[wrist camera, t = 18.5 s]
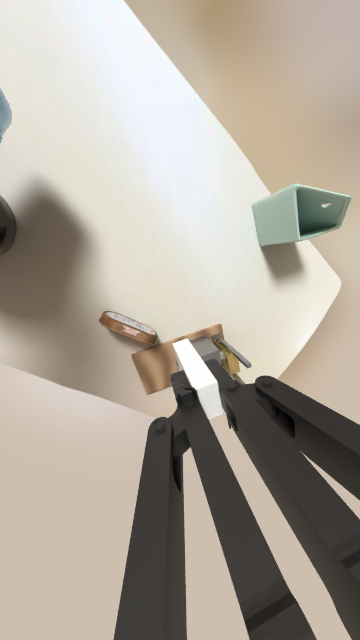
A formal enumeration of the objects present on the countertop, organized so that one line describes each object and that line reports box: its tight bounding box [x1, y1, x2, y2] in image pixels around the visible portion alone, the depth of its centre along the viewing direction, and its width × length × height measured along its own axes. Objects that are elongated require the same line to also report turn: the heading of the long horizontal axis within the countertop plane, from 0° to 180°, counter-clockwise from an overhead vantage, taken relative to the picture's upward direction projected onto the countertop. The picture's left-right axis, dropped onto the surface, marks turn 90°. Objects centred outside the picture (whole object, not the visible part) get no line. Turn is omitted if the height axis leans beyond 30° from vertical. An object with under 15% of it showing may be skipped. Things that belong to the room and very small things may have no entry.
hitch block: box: [189, 333, 251, 384], centre depth 49 cm, size 15×12×18 cm
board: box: [131, 324, 224, 395], centre depth 57 cm, size 29×15×1 cm, turn 105°
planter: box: [252, 184, 352, 246], centre depth 42 cm, size 16×8×20 cm, turn 64°
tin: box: [99, 311, 157, 344], centre depth 46 cm, size 15×3×8 cm, turn 61°
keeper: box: [215, 340, 240, 375], centre depth 53 cm, size 3×7×9 cm, turn 15°
